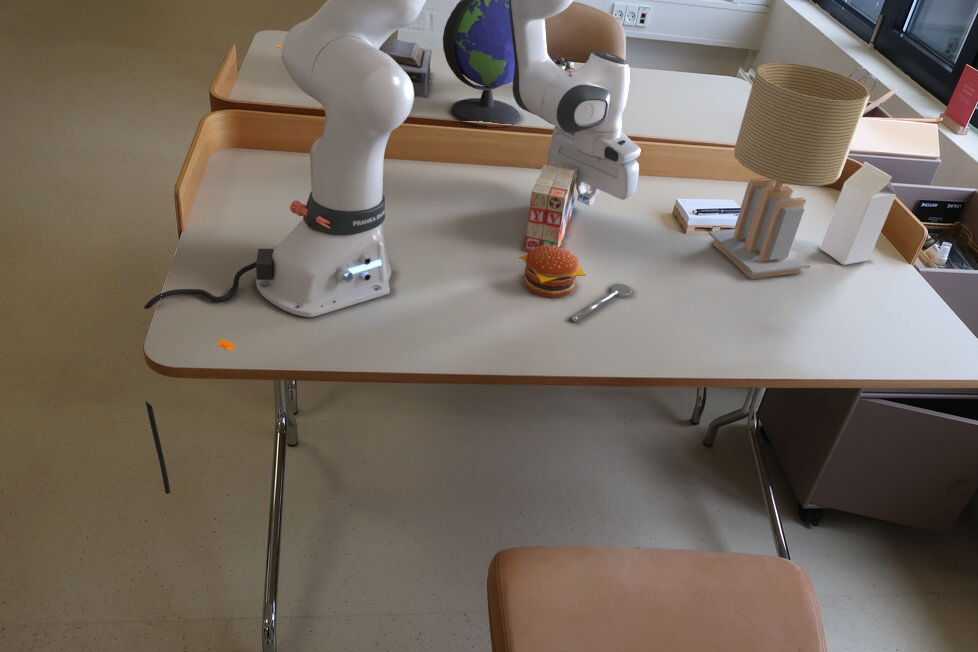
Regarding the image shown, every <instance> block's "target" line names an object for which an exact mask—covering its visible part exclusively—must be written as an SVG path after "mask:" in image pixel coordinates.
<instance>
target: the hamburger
mask: <svg viewBox="0 0 978 652" xmlns="http://www.w3.org/2000/svg"><path fill="white" fill-rule="evenodd" d="M518 259H520V260H523V262H524V263H525V268H524V271H525V273H524V276H523V284H524V285H525V287H526V288H527V289H528V290H529V291H530V292H532V293H533V294H536V295H538V296H541V297H547V298H561V297H562V298H563V297H565V296H567V295H570V293H572V292H573V291H574V289H575V284H576V279H577V277H586V276H587V274H586V273H585V271H584V270H583V269H582V267H581V266H580V264H579V259H578V258H577V256H575V255H574V254H573V253H572V252H571V251H570V250H569V249H567V248H563V247H561V246H560V247H558V246H551V245H542V246H539V247H537V248H535V249H532V250H530V251H527V253H526V254H524V255H521V256H518Z"/></svg>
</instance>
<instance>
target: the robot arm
mask: <svg viewBox="0 0 978 652" xmlns="http://www.w3.org/2000/svg"><path fill="white" fill-rule="evenodd" d="M426 2H427V0H326V2H325V3H323V5H322V6H321V7H320V8H319V9H318V10H317V11H316V13H314V14H313V15H312V16H310V17H309V18H308V19H306V20H303V21H301V22H299V23H297V24H295V25H294V26H292V28H290V29H289V31H288V32H287V34H286V35H285V36H284V39H283V41H282V45H281V54H280V55H281V61H282V64H283V67H284V69H285V70H286V72H287V74H288V75H289V77H290V78H291V79H292V81H293V82H294V83H295V85H296V86H297V87H298V88H299V89H300V90H301V91H302V92H304V93H305V94H306V95H308V96H310V97H311V98H312V99H314V100H315V101H316V102H318V103H320V105H321V106H322V108H323V111H324V115H325V121H324V127H323V131H322V134H321V136H320V137H318V138H317V139H316V140H315V141H314V142H313V143H312V145H311V147H310V150H309V151H310V152H309V159H310V161H309V163H310V180H311V181H310V183H311V184H310V186H311V191H310V192H309V195H308V199H307V201H306V204H304V203H301V202H300V201H299V200H293V201H292V202H291V204H290V205H289V211H290V212H291V213H292V214H295V215H297V216H298V217H302V220H301V221H299V223H298V224H297V225H296V226H295V227H294V228H293V229H292V230H291V232H289V234H287V236H285V238H284V239H283V240H282V241H281V242H280V243H279V244H278V245H277V246H276V247H275V248H258V249H257V254H256V261H254V262H252V263H250V264H248V265H245V266H244V267H242V268H240V269H239V270H237V272H236V273H235V275H234V278H233V283H232V285H231V287H230V289H229V290H228V292H227V293H226V294H225V295H221V296H216V295H213V294H211V293H210V292H209V291H206V290H204V289H200V288H179V289H172V290H171V289H170V290H167V291H163V292H161V293H159V294H157V295H155V296H153V298H151V299H150V300H149V301H147V303H146V304H145V305H144V306H143V309H145V310H147V309H148V310H149V309H151V308H152V307H153V306H154V305H156V303H158V302H159V301H161V300H163V299H166V298H167V297H171V296H177V295H179V296H180V295H200V296H203V297H205V298H206V299H207V300H210V301H212V302H217V303H221V302H226V301H228V300H230V299H231V298H232V297H233V296H234V295H235V293H236V292H237V290H238V287H239V284H240V279H241V277H242V276H243V275H244V274H245V273H247V272H249V271H251V270H253V269H255V272H256V279H255V286H256V289H257V291H258V292H259V294H260V295H261V296H262V297H263V298H265V300H267V301H268V302H270V303H271V304H273V305H274V306H276V307H277V308H279V309H281V310H283V311H285V312H287V313H289V314H292V315H294V316H299V317H304V318H314V317H318V316H321V315H324V314H328V313H331V312H335V311H338V310H341V309H344V308H348V307H351V306H354V305H357V304H360V303H365V302H367V301H370V300H373V299H377V298H380V297H383V296H386V295H388V294H390V292H391V289H390V283H389V281H390V279H391V276H392V269H391V265H390V263H389V259H388V254H387V248H386V242H385V234H384V233H385V232H384V221H385V219H386V211H387V210H386V196H385V195H384V193H383V192H384V189H383V188H384V187H383V186H384V160H385V159H384V158H385V152H386V148H387V144H388V141H389V138H390V136H391V134H392V131H394V130H396V129H397V128H398V127H400V126H402V124H403V123H404V122H405V121H406V120H407V118H408V117H409V115H410V114H411V111H412V108H413V106H414V101H415V96H414V88H413V84H412V82H411V80H410V78H409V76H408V75H407V74H406V73H405V71H404V70H403V69H402V68H401V67H400V66H399V65H398V64H397V63H396V62H395V61H394V60H393V58H391V57H390V56H389V55H388V54H386V53H384V52H382V51H380V50H379V48H380V47H381V46H382V44H383V43H384V42H385V41H388V39H389V38H390V37H391V36H392V35H393V34H395V32H396V31H398V30H400V29H402V28H404V27H408V26H409V25H412V24H413V23H414V22H415V21H416V20H417V19H418V18H419V16H420V14H421V12H422V10H423V8H424V6H425V4H426ZM573 2H574V0H509V13H510V24H511V33H512V41H513V50H514V60H515V69H514V78H513V82H512V95H513V99H514V101H515V103H516V105H517V106H518V107H519V108H521V109H522V110H523V111H525V112H528V113H530V114H532V115H534V116H537V117H539V118H540V119H542V120H544V121H545V122H547V123H549V124H550V125H553V127H554V128H553V129H552V132H551V141H550V144H549V148H548V151H547V152H548V153H547V156H546V164H547V165H548V164H549V162H554V163H559V164H564V165H570V166H574V167H577V168H579V169H578V174H577V187H576V192H577V201H578V202H580V203H583V204H585V205H587V206H592V205H593V204H594V203H595V199H596V196H598V194H599V193H600V192H603V193H605V194H608V195H610V196H612V197H614V198H616V199H619V200H621V201H624V200H627V199H629V198H631V197H632V196H634V195H635V194H636V192H637V187H638V181H639V174H640V167H639V163H638V160H637V158H639V157H640V155H641V147H640V146H639V145H638V144H636V143H635V142H634V141H633V140H632V139H630V137H628V136H627V135H626V134H625V133H624V131H622V127H623V121H622V117H623V114H624V113H623V112H624V110H625V109H626V106H627V101H628V96H629V90H630V89H629V88H630V81H631V79H630V77H631V72H630V66H629V65H630V64H628V61H626V60H625V59H624V58H622V57H620V56H617V55H615V54H613V53H609V52H606V51H601V50H597V51H592V52H591V53H590V55H589V56H588V60H587V61H585V62H584V64H582V65H581V66H580V67H579V68H577V69H576V70H575V71H574V72H571V73H569V72H567V71H565V70H563V69H562V68H560V67H558V66H557V65H556V64H555V63H554V62H553V61H552V60H551V57H550V55H549V53H548V46H547V44H548V43H547V35H546V34H547V33H546V20H547V19H549V18H552V17H555V16H557V15H558V14H560V13H562V12H563V11H566V9H568V8H569V6H571V5H572V4H573ZM586 185H587V186H589V191H591V192H590V193H589V192H587V190H586ZM161 295H162V296H161ZM160 298H161V299H160ZM145 406H146V410H147V416H148V419H149V424H150V428H151V433H152V437H153V441H154V445H155V449H156V453H157V458H158V462H159V467H160V472H161V478H162V482H163V488H164V493H165V494H167V495H168V494H171V488H170V487H171V486H170V482H169V477H168V472H167V467H166V462H165V457H164V453H163V448H162V444H161V439H160V435H159V430H158V427H157V423H156V418H155V413H154V408H153V405H151V404H150V403H149V402H148V401H145Z"/></svg>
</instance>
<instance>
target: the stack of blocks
mask: <svg viewBox="0 0 978 652" xmlns="http://www.w3.org/2000/svg"><path fill="white" fill-rule="evenodd" d="M578 169H579V168H577V167H574V166H570V165H564V164H559V163H554V162H549V164H547V165H546V164H544V165H543V166H542V168H541V170H540V174H539V176H538V178H537V179H536V181H535V184H534V185H533V188H532V189H531V192H530V193H531V194H530V203H529V210H528V217H527V227H526V234H525V240H524V247H523V250H524V251H526V252H529V251H530V250H532V249H535V248H537V247H539V246H542V245H551V246H558V247H561V244H562V242H563V239H564V237H565V232H566V230H567V226H568V222H569V221H570V218H571V216H572V212H573V210H574V204H575V198H576V192H577V188H576V187H577V174H578Z"/></svg>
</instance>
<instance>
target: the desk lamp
mask: <svg viewBox="0 0 978 652" xmlns="http://www.w3.org/2000/svg"><path fill="white" fill-rule="evenodd" d="M751 85H752V86H751V89H750V91H749V95H748V99H747V103H746V106H745V110H744V114H743V116H742V121H741V124H740V127H739V131H738V135H737V138H736V142H735V146H734V149H733V151H734V158H735V159H736V160H737V161H738V162H739V163H740V164H741V166H743V167H745V168H747V169H748V170H750V171H751V172H753V173H755V174H757V175H759V176H762V177H759V178H749V179H750V180H749V181H748V183H747V186H746V189H745V193H744V196H743V199H742V202H741V205H740V209H739V212H738V216H737V219H736V223H735V225H734V228H731V229H721V230H719V229H718V230H711V231H708V235H709V236H710V237H711V238H712V239H713V240H714V241H713V246H714V247H715V248H717V249H718V250H719V251H720V252H721V253H722V254H723V255H724V256H725V257H726V258H728V259H729V260H730V261H731V262H732V263H733V264H734V265H735V266H736V267H738V268H739V269H740V270H741V271H742V272H743V273H744V274H745V275H746V276H747V277H748V278H750V280H754V279H763V278H770V277H778V276H787V275H795V274H800V271H801V269H807V268H809V269H810V268H811V266H812V265H811V264H810V263H809V262H807V261H806V260H805V259H804V258H803V257H801V256H800V255H799V254H797V252H795V251H794V250H792V249H791V248H792V246H793V243H794V240H795V237H796V235H797V232H798V229H799V227H800V223H801V221H802V217H803V214H804V212H805V208H804V207H805V204H806V201H807V199H806V198H805V197H792V196H793V193H794V189H792V188H791V187H790V186H788V185H784V183H785V184H790V185H795V186H801V187H802V186H803V187H823V186H827V185H833V184H834V183H836V182H837V181H838V180H839V179H840V177H841V175H842V172H843V170H844V167H845V164H846V161H847V159H848V157H849V153H850V151H851V148H852V145H853V143H854V140H855V138H856V135H857V131H858V129H859V126H860V123H861V121H862V118H863V115H864V113H865V110H866V107H867V105H868V102H869V99H870V96H871V94H870V92H869V89H868V88H867V87H866V86H865V85H863V84H862V83H861V82H859V81H858V80H855V79H854V78H850V77H848V76H846V75H844V74H842V73H840V72H836V71H833V70H829V69H825V68H822V67H817V66H812V65H807V64H801V63H792V62H781V61H780V62H767V63H763V64H762V65H760V66H758V67H757V68H756V71H755V75H754V78H753V82H752V84H751Z"/></svg>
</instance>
